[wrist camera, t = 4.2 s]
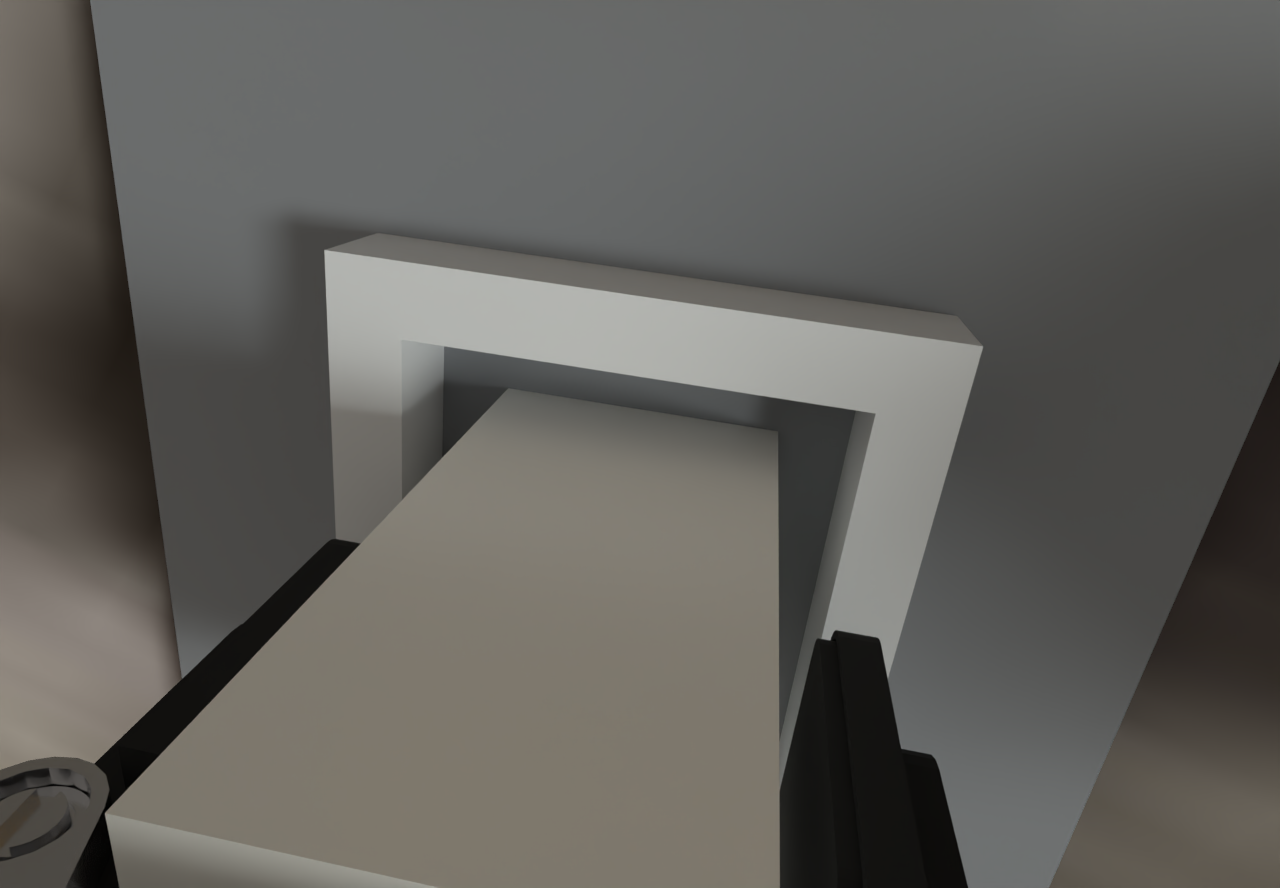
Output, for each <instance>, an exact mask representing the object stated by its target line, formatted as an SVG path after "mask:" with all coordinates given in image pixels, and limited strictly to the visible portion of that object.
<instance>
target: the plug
mask: <svg viewBox="0 0 1280 888" xmlns="http://www.w3.org/2000/svg"><path fill="white" fill-rule="evenodd" d="M105 817H106V822H107V827H108V832H109V837H110V842H111V847H112V852H113V857H114V862H115V867H116V872H117V877H118V883H119V888H780V806H779V529H778V431H772V430H766V429H760V428H754V427H747V426H741V425H735V424H729V423H722V422H716V421H710V420H704V419H697V418H691V417H685V416H679V415H672V414H666V413H660V412H654V411H647V410H641V409H635V408H629V407H622V406H616V405H610V404H604V403H597V402H591V401H585V400H579V399H572V398H566V397H560V396H554V395H547V394H541V393H535V392H529V391H522V390H516V389H510V388H508V389H507V390H506V391H505V392H504V393H503V394H502V395H501V397H500V398H499V399H498V400H497V401H496V402H495V403H494V404H493V405H492V406H491V407H490V408H489V409H488V410H487V411H486V412H485V413H484V414H483V415H482V417H481V418H480V419H479V420H478V421H477V422H476V423H475V424H474V425H473V426H472V427H471V428H470V429H469V430H468V431H467V432H466V433H465V434H464V435H463V437H462V438H461V439H460V440H459V441H458V442H457V443H456V444H455V445H454V446H453V447H452V448H451V449H450V450H449V451H448V452H447V453H446V454H445V455H444V457H443V458H442V459H441V460H440V461H439V462H438V463H437V464H436V465H435V466H434V467H433V468H432V469H431V470H430V471H429V472H428V473H427V474H426V475H425V477H424V478H423V479H422V480H421V481H420V482H419V483H418V484H417V485H416V486H415V487H414V488H413V489H412V490H411V491H410V492H409V493H408V494H407V495H406V497H405V498H404V499H403V500H402V501H401V502H400V503H399V504H398V505H397V506H396V507H395V508H394V509H393V510H392V511H391V512H390V513H389V514H388V515H387V517H386V518H385V519H384V520H383V521H382V522H381V523H380V524H379V525H378V526H377V527H376V528H375V529H374V530H373V531H372V532H371V533H370V534H369V535H368V537H367V538H366V539H365V540H364V541H363V542H362V543H361V544H360V545H359V546H358V547H357V548H356V549H355V550H354V551H353V552H352V553H351V554H350V555H349V557H348V558H347V559H346V560H345V561H344V562H343V563H342V564H341V565H340V566H339V567H338V568H337V569H336V570H335V571H334V572H333V573H332V574H331V575H330V577H329V578H328V579H327V580H326V581H325V582H324V583H323V584H322V585H321V586H320V587H319V588H318V589H317V590H316V591H315V592H314V593H313V594H312V595H311V597H310V598H309V599H308V600H307V601H306V602H305V603H304V604H303V605H302V606H301V607H300V608H299V609H298V610H297V611H296V612H295V613H294V614H293V615H292V617H291V618H290V619H289V620H288V621H287V622H286V623H285V624H284V625H283V626H282V627H281V628H280V629H279V630H278V631H277V632H276V633H275V634H274V635H273V637H272V638H271V639H270V640H269V641H268V642H267V643H266V644H265V645H264V646H263V647H262V648H261V649H260V650H259V651H258V652H257V653H256V654H255V655H254V657H253V658H252V659H251V660H250V661H249V662H248V663H247V664H246V665H245V666H244V667H243V668H242V669H241V670H240V671H239V672H238V673H237V674H236V675H235V677H234V678H233V679H232V680H231V681H230V682H229V683H228V684H227V685H226V686H225V687H224V688H223V689H222V690H221V691H220V692H219V693H218V694H217V696H216V697H215V698H214V699H213V700H212V701H211V702H210V703H209V704H208V705H207V706H206V707H205V708H204V709H203V710H202V711H201V712H200V713H199V714H198V716H197V717H196V718H195V719H194V720H193V721H192V722H191V723H190V724H189V725H188V726H187V727H186V728H185V729H184V730H183V731H182V732H181V733H180V734H179V736H178V737H177V738H176V739H175V740H174V741H173V742H172V743H171V744H170V745H169V746H168V747H167V748H166V749H165V750H164V751H163V752H162V753H161V754H160V756H159V757H158V758H157V759H156V760H155V761H154V762H153V763H152V764H151V765H150V766H149V767H148V768H147V769H146V770H145V771H144V772H143V773H142V774H141V776H140V777H139V778H138V779H137V780H136V781H135V782H134V783H133V784H132V785H131V786H130V787H129V788H128V789H127V790H126V791H125V792H124V793H123V794H122V796H121V797H120V798H119V799H118V800H117V801H116V802H115V803H114V804H113V805H112V806H111V807H110V808H109V809H108V810H107V811H106V812H105Z"/></svg>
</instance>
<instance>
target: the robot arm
mask: <svg viewBox="0 0 1280 888" xmlns="http://www.w3.org/2000/svg"><path fill="white" fill-rule="evenodd" d="M360 544H361V543H356V542H350V541H345V540H339V539H331V540H330V541H328V542H327V543H326V544H325V545H324V546H323V547H322V548H321V549H319V550H318V551H317V552H316V553H315V554H314V555H313V556H312V557H311V558H310V559H309V560H308V561H307V562H306V563H305V564H304V565H303V566H302V567H301V568H300V569H299V570H298V571H297V572H296V573H295V574H294V575H293V576H292V577H291V578H290V579H289V580H288V581H287V582H285V583H284V584H283V585H282V586H281V587H280V588H279V589H278V590H277V591H276V592H275V593H274V594H273V595H272V596H271V597H270V598H269V599H268V600H267V601H266V602H265V603H264V604H263V605H262V606H261V607H260V608H259V609H258V610H257V611H256V612H255V613H254V614H252V615H251V616H250V617H249V618H248V619H247V620H246V621H245V622H244V623H243V624H241V625H239V626H238V627H237V628H235V629H234V630H233V631H231V632H230V633H229V634H228V635H227V636H226V637H225V638H224V639H223V640H222V641H221V642H220V643H219V644H218V645H217V646H216V647H215V648H214V649H213V650H212V651H211V652H210V653H209V654H208V655H207V656H206V657H205V658H203V659H202V660H201V661H200V662H199V663H198V664H197V665H196V666H195V667H194V668H193V669H192V670H191V671H190V672H189V673H188V674H187V675H186V676H185V677H184V678H183V679H182V680H181V681H180V682H179V683H178V684H177V685H175V686H174V687H173V688H172V689H171V690H170V691H169V692H168V693H167V694H166V695H165V696H164V697H163V698H162V699H161V700H160V701H159V702H158V703H157V704H156V705H155V706H154V707H153V708H152V709H151V710H150V711H149V712H147V713H146V714H145V715H144V716H143V717H142V718H141V719H140V720H139V721H138V722H137V723H136V724H135V725H134V726H133V727H132V728H131V729H130V730H129V731H128V732H127V733H126V734H125V735H124V736H123V737H122V738H121V739H119V740H118V741H117V742H116V743H115V744H114V745H113V746H112V747H111V748H110V749H109V750H108V751H107V752H106V753H105V754H104V755H103V756H102V757H101V758H100V759H99V760H98V761H97V762H96V763H95V764H93V763H90V762H87V761H85V760H82V759H79V758H69V757H50V758H43V759H36V760H30V761H26V762H23V763H20V764H17V765H14V766H11V767H8V768H5V769H2V770H0V888H119V883H118V877H117V872H116V867H115V862H114V857H113V852H112V847H111V842H110V837H109V832H108V827H107V822H106V817H105V812H106V811H107V810H108V809H109V808H110V807H111V806H112V805H113V804H114V803H115V802H116V801H117V800H118V799H119V798H120V797H121V796H122V794H123V793H124V792H125V791H126V790H127V789H128V788H129V787H130V786H131V785H132V784H133V783H134V782H135V781H136V780H137V779H138V778H139V777H140V776H141V774H142V773H143V772H144V771H145V770H146V769H147V768H148V767H149V766H150V765H151V764H152V763H153V762H154V761H155V760H156V759H157V758H158V757H159V756H160V754H161V753H162V752H163V751H164V750H165V749H166V748H167V747H168V746H169V745H170V744H171V743H172V742H173V741H174V740H175V739H176V738H177V737H178V736H179V734H180V733H181V732H182V731H183V730H184V729H185V728H186V727H187V726H188V725H189V724H190V723H191V722H192V721H193V720H194V719H195V718H196V717H197V716H198V714H199V713H200V712H201V711H202V710H203V709H204V708H205V707H206V706H207V705H208V704H209V703H210V702H211V701H212V700H213V699H214V698H215V697H216V696H217V694H218V693H219V692H220V691H221V690H222V689H223V688H224V687H225V686H226V685H227V684H228V683H229V682H230V681H231V680H232V679H233V678H234V677H235V675H236V674H237V673H238V672H239V671H240V670H241V669H242V668H243V667H244V666H245V665H246V664H247V663H248V662H249V661H250V660H251V659H252V658H253V657H254V655H255V654H256V653H257V652H258V651H259V650H260V649H261V648H262V647H263V646H264V645H265V644H266V643H267V642H268V641H269V640H270V639H271V638H272V637H273V635H274V634H275V633H276V632H277V631H278V630H279V629H280V628H281V627H282V626H283V625H284V624H285V623H286V622H287V621H288V620H289V619H290V618H291V617H292V615H293V614H294V613H295V612H296V611H297V610H298V609H299V608H300V607H301V606H302V605H303V604H304V603H305V602H306V601H307V600H308V599H309V598H310V597H311V595H312V594H313V593H314V592H315V591H316V590H317V589H318V588H319V587H320V586H321V585H322V584H323V583H324V582H325V581H326V580H327V579H328V578H329V577H330V575H331V574H332V573H333V572H334V571H335V570H336V569H337V568H338V567H339V566H340V565H341V564H342V563H343V562H344V561H345V560H346V559H347V558H348V557H349V555H350V554H351V553H352V552H353V551H354V550H355V549H356V548H357V547H358V546H359V545H360ZM779 806H780V888H968V885H967V881H966V876H965V872H964V868H963V864H962V860H961V856H960V852H959V848H958V844H957V840H956V836H955V832H954V827H953V823H952V819H951V815H950V811H949V807H948V803H947V799H946V795H945V791H944V787H943V782H942V778H941V774H940V770H939V767H938V764H937V762H936V759H935V758H934V757H933V756H932V755H931V754H926V753H921V752H916V751H911V750H905V749H901V745H900V740H899V735H898V730H897V724H896V719H895V714H894V709H893V704H892V699H891V693H890V688H889V683H888V678H887V673H886V668H885V662H884V657H883V652H882V647H881V643H880V640H879V638H877V637H872V636H866V635H861V634H855V633H850V632H844V631H839V630H835V631H834V632H833V635H832V637H831V640H825V639H820V638H817V639H816V642H815V645H814V648H813V653H812V657H811V661H810V665H809V669H808V674H807V678H806V682H805V686H804V690H803V695H802V699H801V703H800V707H799V711H798V716H797V720H796V724H795V728H794V732H793V737H792V741H791V745H790V749H789V753H788V758H787V762H786V766H785V770H784V774H783V779H782V783H781V787H780V791H779Z"/></svg>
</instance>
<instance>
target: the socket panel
mask: <svg viewBox="0 0 1280 888" xmlns="http://www.w3.org/2000/svg"><path fill="white" fill-rule="evenodd" d="M90 4H91V11H92V18H93V26H94V33H95V40H96V48H97V55H98V63H99V70H100V77H101V85H102V92H103V99H104V107H105V114H106V122H107V129H108V136H109V144H110V151H111V158H112V166H113V173H114V181H115V188H116V195H117V203H118V210H119V217H120V225H121V232H122V240H123V247H124V254H125V262H126V269H127V276H128V284H129V291H130V299H131V306H132V313H133V321H134V328H135V335H136V343H137V350H138V358H139V365H140V372H141V380H142V387H143V394H144V402H145V409H146V417H147V424H148V431H149V439H150V446H151V453H152V461H153V468H154V476H155V483H156V490H157V498H158V505H159V513H160V520H161V527H162V535H163V542H164V549H165V557H166V564H167V572H168V579H169V586H170V594H171V601H172V608H173V616H174V623H175V631H176V638H177V645H178V653H179V660H180V667H181V675H182V679H183V678H184V677H185V676H186V675H187V674H188V673H189V672H190V671H191V670H192V669H193V668H194V667H195V666H196V665H197V664H198V663H199V662H200V661H201V660H202V659H203V658H205V657H206V656H207V655H208V654H209V653H210V652H211V651H212V650H213V649H214V648H215V647H216V646H217V645H218V644H219V643H220V642H221V641H222V640H223V639H224V638H225V637H226V636H227V635H228V634H229V633H230V632H231V631H233V630H234V629H235V628H237V627H238V626H239V625H241V624H243V623H244V622H245V621H246V620H247V619H248V618H249V617H250V616H251V615H252V614H254V613H255V612H256V611H257V610H258V609H259V608H260V607H261V606H262V605H263V604H264V603H265V602H266V601H267V600H268V599H269V598H270V597H271V596H272V595H273V594H274V593H275V592H276V591H277V590H278V589H279V588H280V587H281V586H282V585H283V584H284V583H285V582H287V581H288V580H289V579H290V578H291V577H292V576H293V575H294V574H295V573H296V572H297V571H298V570H299V569H300V568H301V567H302V566H303V565H304V564H305V563H306V562H307V561H308V560H309V559H310V558H311V557H312V556H313V555H314V554H315V553H316V552H317V551H318V550H319V549H321V548H322V547H323V546H324V545H325V544H326V543H327V542H328V541H330V540H331V539H339V540H345V541H350V542H356V543H362V542H363V541H364V540H365V539H366V538H367V537H368V535H369V534H370V533H371V532H372V531H373V530H374V529H375V528H376V527H377V526H378V525H379V524H380V523H381V522H382V521H383V520H384V519H385V518H386V517H387V515H388V514H389V513H390V512H391V511H392V510H393V509H394V508H395V507H396V506H397V505H398V504H399V503H400V502H401V501H402V500H403V499H404V498H405V497H406V495H407V494H408V493H409V492H410V491H411V490H412V489H413V488H414V487H415V486H416V485H417V484H418V483H419V482H420V481H421V480H422V479H423V478H424V477H425V475H426V474H427V473H428V472H429V471H430V470H431V469H432V468H433V467H434V466H435V465H436V464H437V463H438V462H439V461H440V460H441V459H442V458H443V457H444V455H445V454H446V453H447V452H448V451H449V450H450V449H451V448H452V447H453V446H454V445H455V444H456V443H457V442H458V441H459V440H460V439H461V438H462V437H463V435H464V434H465V433H466V432H467V431H468V430H469V429H470V428H471V427H472V426H473V425H474V424H475V423H476V422H477V421H478V420H479V419H480V418H481V417H482V415H483V414H484V413H485V412H486V411H487V410H488V409H489V408H490V407H491V406H492V405H493V404H494V403H495V402H496V401H497V400H498V399H499V398H500V397H501V395H502V394H503V393H504V392H505V391H506V390H507V389H508V388H510V389H516V390H522V391H529V392H535V393H541V394H547V395H554V396H560V397H566V398H572V399H579V400H585V401H591V402H597V403H604V404H610V405H616V406H622V407H629V408H635V409H641V410H647V411H654V412H660V413H666V414H672V415H679V416H685V417H691V418H697V419H704V420H710V421H716V422H722V423H729V424H735V425H741V426H747V427H754V428H760V429H766V430H772V431H778V529H779V791H780V787H781V783H782V779H783V774H784V770H785V766H786V762H787V758H788V753H789V749H790V745H791V741H792V737H793V732H794V728H795V724H796V720H797V716H798V711H799V707H800V703H801V699H802V695H803V690H804V686H805V682H806V678H807V674H808V669H809V665H810V661H811V657H812V653H813V648H814V645H815V642H816V639H817V638H820V639H825V640H831V637H832V635H833V632H834V631H835V630H839V631H844V632H850V633H855V634H861V635H866V636H872V637H877V638H879V640H880V643H881V647H882V652H883V657H884V662H885V668H886V673H887V678H888V683H889V688H890V693H891V699H892V704H893V709H894V714H895V719H896V724H897V730H898V735H899V740H900V745H901V749H905V750H911V751H916V752H921V753H926V754H931V755H932V756H933V757H934V758H935V759H936V762H937V764H938V767H939V770H940V774H941V778H942V782H943V787H944V791H945V795H946V799H947V803H948V807H949V811H950V815H951V819H952V823H953V827H954V832H955V836H956V840H957V844H958V848H959V852H960V856H961V860H962V864H963V868H964V872H965V876H966V881H967V885H968V888H1049V886H1050V884H1051V882H1052V879H1053V877H1054V875H1055V872H1056V870H1057V868H1058V866H1059V863H1060V861H1061V859H1062V856H1063V854H1064V852H1065V850H1066V847H1067V845H1068V843H1069V840H1070V838H1071V836H1072V834H1073V831H1074V829H1075V827H1076V824H1077V822H1078V820H1079V818H1080V815H1081V813H1082V811H1083V809H1084V806H1085V804H1086V802H1087V799H1088V797H1089V795H1090V793H1091V790H1092V788H1093V786H1094V783H1095V781H1096V779H1097V777H1098V774H1099V772H1100V770H1101V767H1102V765H1103V763H1104V761H1105V758H1106V756H1107V754H1108V751H1109V749H1110V747H1111V745H1112V742H1113V740H1114V738H1115V735H1116V733H1117V731H1118V729H1119V726H1120V724H1121V722H1122V720H1123V717H1124V715H1125V713H1126V710H1127V708H1128V706H1129V704H1130V701H1131V699H1132V697H1133V694H1134V692H1135V690H1136V688H1137V685H1138V683H1139V681H1140V678H1141V676H1142V674H1143V672H1144V669H1145V667H1146V665H1147V662H1148V660H1149V658H1150V656H1151V653H1152V651H1153V649H1154V646H1155V644H1156V642H1157V640H1158V637H1159V635H1160V633H1161V631H1162V628H1163V626H1164V624H1165V621H1166V619H1167V617H1168V615H1169V612H1170V610H1171V608H1172V605H1173V603H1174V601H1175V599H1176V596H1177V594H1178V592H1179V589H1180V587H1181V585H1182V583H1183V580H1184V578H1185V576H1186V573H1187V571H1188V569H1189V567H1190V564H1191V562H1192V560H1193V557H1194V555H1195V553H1196V551H1197V548H1198V546H1199V544H1200V541H1201V539H1202V537H1203V535H1204V532H1205V530H1206V528H1207V526H1208V523H1209V521H1210V519H1211V516H1212V514H1213V512H1214V510H1215V507H1216V505H1217V503H1218V500H1219V498H1220V496H1221V494H1222V491H1223V489H1224V487H1225V484H1226V482H1227V480H1228V478H1229V475H1230V473H1231V471H1232V468H1233V466H1234V464H1235V462H1236V459H1237V457H1238V455H1239V452H1240V450H1241V448H1242V446H1243V443H1244V441H1245V439H1246V437H1247V434H1248V432H1249V430H1250V427H1251V425H1252V423H1253V421H1254V418H1255V416H1256V414H1257V411H1258V409H1259V407H1260V405H1261V402H1262V400H1263V398H1264V395H1265V393H1266V391H1267V389H1268V386H1269V384H1270V382H1271V379H1272V377H1273V375H1274V373H1275V370H1276V368H1277V366H1278V363H1279V361H1280V0H90Z"/></svg>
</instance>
